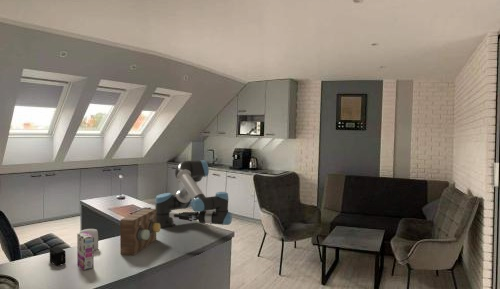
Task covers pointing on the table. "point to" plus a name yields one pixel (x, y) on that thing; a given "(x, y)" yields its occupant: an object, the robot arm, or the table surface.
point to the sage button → (145, 234)
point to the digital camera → (57, 256)
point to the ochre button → (156, 227)
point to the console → (136, 231)
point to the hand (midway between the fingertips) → (169, 214)
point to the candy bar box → (85, 250)
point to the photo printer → (93, 233)
